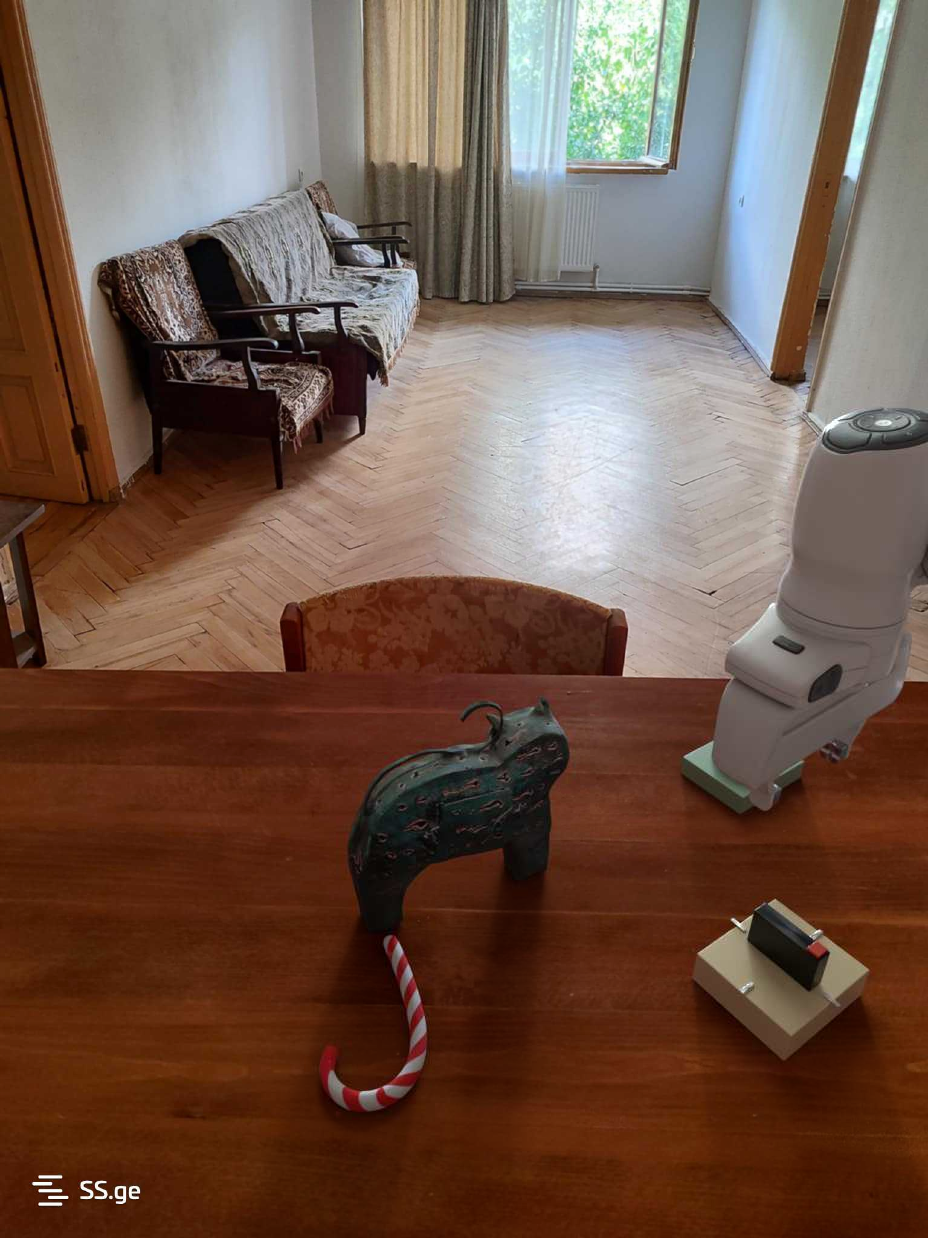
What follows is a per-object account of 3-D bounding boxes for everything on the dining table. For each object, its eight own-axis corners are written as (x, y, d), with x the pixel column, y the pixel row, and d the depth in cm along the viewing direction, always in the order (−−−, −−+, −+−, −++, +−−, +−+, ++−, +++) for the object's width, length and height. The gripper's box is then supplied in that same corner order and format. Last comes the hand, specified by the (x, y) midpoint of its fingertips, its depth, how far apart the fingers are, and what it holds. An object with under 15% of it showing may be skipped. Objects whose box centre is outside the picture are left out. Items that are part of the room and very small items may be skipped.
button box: (740, 740, 100) (746, 711, 98) (800, 777, 94) (808, 748, 92) (680, 773, 95) (685, 743, 93) (739, 814, 89) (746, 784, 87)
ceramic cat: (538, 836, 86) (550, 663, 76) (573, 881, 81) (591, 703, 71) (345, 901, 79) (330, 720, 69) (370, 956, 74) (358, 769, 64)
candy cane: (429, 931, 75) (424, 1104, 61) (429, 942, 75) (425, 1115, 62) (337, 932, 74) (313, 1105, 61) (338, 943, 75) (314, 1116, 62)
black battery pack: (746, 940, 72) (754, 908, 70) (758, 932, 73) (766, 899, 71) (809, 992, 68) (819, 959, 66) (821, 983, 68) (831, 950, 67)
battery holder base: (764, 917, 78) (770, 892, 76) (868, 999, 71) (878, 973, 69) (685, 974, 73) (690, 948, 71) (789, 1068, 65) (797, 1042, 64)
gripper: (873, 579, 73) (838, 716, 79) (710, 658, 62) (686, 809, 69) (948, 608, 68) (905, 751, 75) (787, 700, 57) (753, 856, 64)
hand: (799, 780), depth 72 cm, fingers open, 8 cm apart
